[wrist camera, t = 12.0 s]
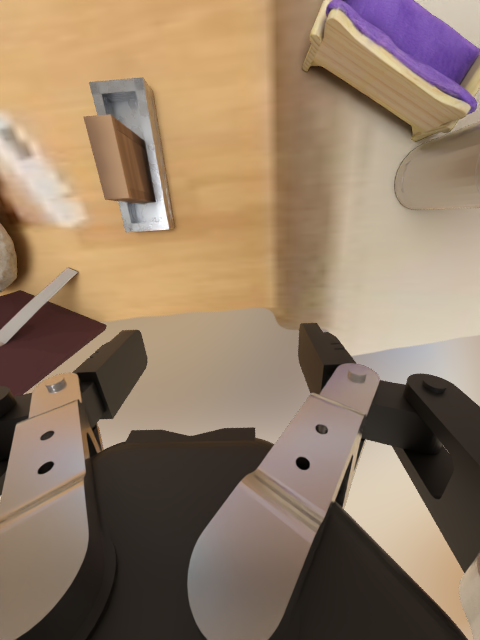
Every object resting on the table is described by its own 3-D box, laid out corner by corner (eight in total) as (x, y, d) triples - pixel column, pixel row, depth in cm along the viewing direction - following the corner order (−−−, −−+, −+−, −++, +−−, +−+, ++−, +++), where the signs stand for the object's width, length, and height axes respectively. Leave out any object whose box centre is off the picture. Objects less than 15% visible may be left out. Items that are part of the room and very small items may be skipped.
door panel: (146, 141, 34) (111, 114, 25) (157, 202, 38) (129, 197, 28) (125, 143, 34) (83, 116, 25) (138, 203, 38) (104, 199, 29)
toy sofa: (461, 76, 32) (550, 18, 23) (417, 146, 35) (479, 121, 26) (331, -18, 29) (375, -131, 19) (296, 69, 32) (318, 8, 23)
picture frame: (19, 295, 45) (-207, 375, 22) (24, 248, 42) (-239, 286, 19) (105, 329, 48) (-19, 432, 25) (117, 288, 45) (-15, 364, 22)
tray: (152, 91, 33) (142, 77, 30) (174, 228, 40) (169, 229, 37) (103, 95, 33) (88, 82, 30) (134, 231, 40) (125, 232, 37)
